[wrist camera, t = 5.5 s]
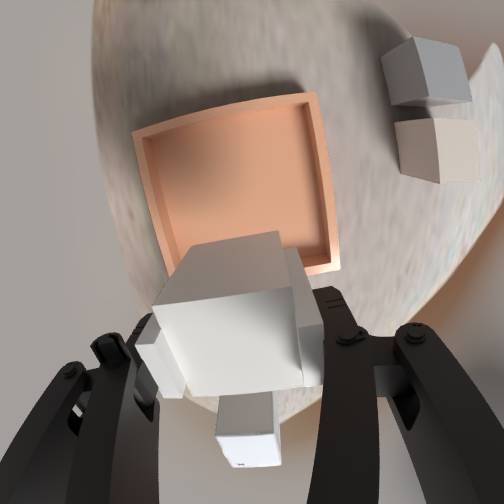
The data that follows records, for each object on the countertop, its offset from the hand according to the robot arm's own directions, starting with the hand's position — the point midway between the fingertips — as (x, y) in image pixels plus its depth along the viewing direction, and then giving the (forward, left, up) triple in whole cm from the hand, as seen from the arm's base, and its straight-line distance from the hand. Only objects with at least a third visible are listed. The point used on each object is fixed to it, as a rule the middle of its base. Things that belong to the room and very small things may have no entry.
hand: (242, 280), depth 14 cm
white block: (0, 0, 0) cm, 0 cm away
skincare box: (+13, -2, -9) cm, 16 cm away
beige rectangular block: (-5, +16, -9) cm, 19 cm away
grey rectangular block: (-11, +16, -9) cm, 21 cm away
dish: (-3, 0, -9) cm, 9 cm away
